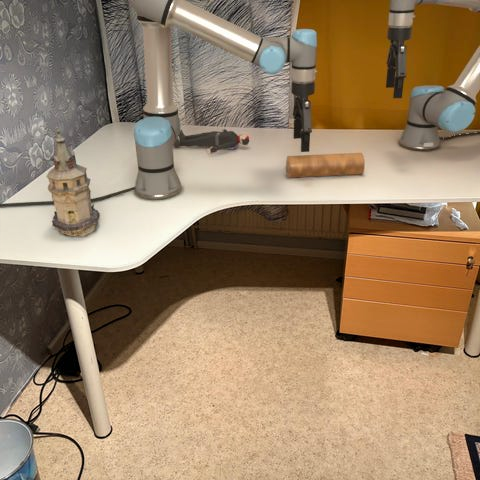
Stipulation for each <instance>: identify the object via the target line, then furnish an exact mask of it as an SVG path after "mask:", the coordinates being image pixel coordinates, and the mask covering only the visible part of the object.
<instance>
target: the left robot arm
mask: <svg viewBox="0 0 480 480" xmlns="http://www.w3.org/2000/svg"><path fill="white" fill-rule="evenodd" d="M129 3H130V5H131V8H133V10H134V11H135V12H136V19H137V22H138V23H139V24H140V25H141V26H142V36H143V54H144V69H145V86H146V89H145V90H146V104H145V105H144V106H143V107H142V114H143V115H142V116H143V119H139V120H138V121H136V123H135V124H134V127H133V138H134V144H135V154H136V161H137V175H136V179H135V184H134V186H132V187H128V188H126V189H123V190H119V191H117V192H116V191H115V192H113V193H108V194H105V195H102V196H99V197H94V198H91V203H93V202H98V201H102V200H105V199H109V198H113V197H116V196H119V195H122V194H125V193H128V192H129V193H130V192H132V191H133V192H134V193H135V195H136V196H137V197H138V198H141V199H143V200H148V201H161V200H168V199H171V198H174V197H176V196H178V195H179V194H180V193H181V192H182V182H181V180H180V177H179V176H178V173H177V171H176V169H175V161H174V160H175V159H174V158H175V157H174V144H175V141H176V140H177V138H178V139H179V134H180V131H181V130H182V124H181V120H180V117H179V107H178V105H176V104H175V102H174V84H173V82H174V81H173V58H172V56H173V55H172V28H171V27H172V26H173V27H175V28H178V29H179V30H181V31H183V32H185V33H188V34H190V35H192V36H194V37H196V38H198V39H200V40H202V41H204V42H207V43H209V44H211V45H213V46H214V47H217V48H220V49H221V50H224V51H226V52H228V53H230V54H232V55H235V56H237V57H239V58H240V59H242V60H244V61H247V62H249V63H251V64H253V65H255V66H256V67H259V68H260V69H261V70H262V71H263V72H264V73H266V74H268V75H276V74H278V73H279V72H281V70H283V69H284V67H285V64H286V63H291V91H290V92H291V94H292V95H294V101H293V102H294V103H293V109H292V110H293V111H292V116H293V136H292V137H293V139H294V140H297V139H300V153H310V149H311V148H310V146H311V145H310V144H311V134H312V133H313V127H312V109H311V108H312V101H311V100H310V99H309V97H310V96H313V95H314V94H315V92H316V82H315V80H316V74H318V70H317V69H316V68H317V50H318V34H317V32H316V30H315V29H312V28H300V29H299V28H297V29H294V30H293V31H292V35H291V36H282V37H281V36H277V37H276V36H272V37H271V36H270V37H269V36H263V37H261V36H259V35H257V34H255V33H254V32H252V31H249V30H247V29H245V28H243V27H241V26H239V25H236V24H234V23H232V22H230V21H228V20H226V19H225V18H222V17H221V16H218V15H216V14H214V13H212V12H211V11H208V10H206V9H204V8H201V7H199V6H197V5H196V4H194V3H192V2H189V1H188V0H129ZM42 205H44V206H45V205H54V201H53V200H45V201H25V202H23V201H22V202H8V203H7V202H6V203H0V208H4V207H22V206H42Z"/></svg>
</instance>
